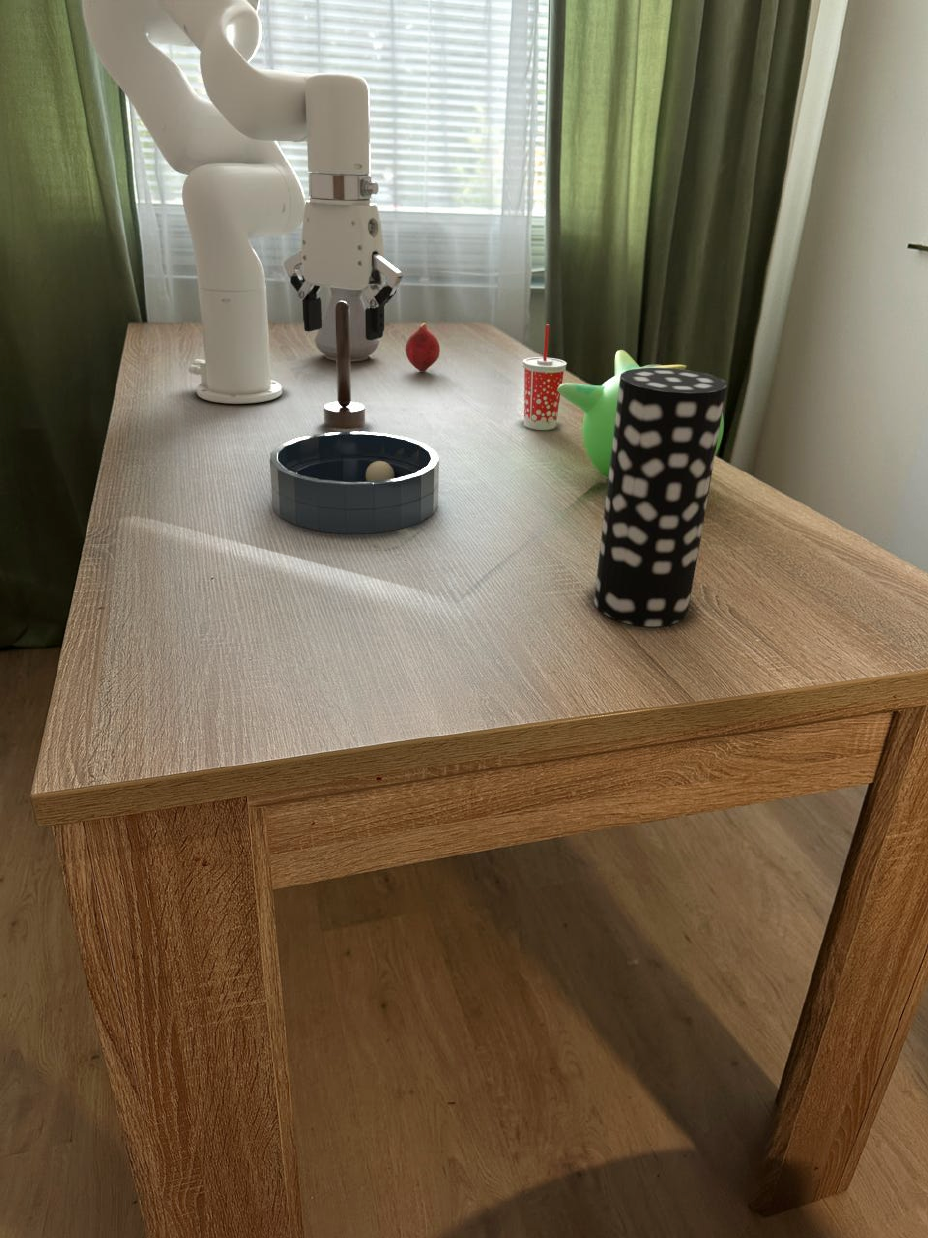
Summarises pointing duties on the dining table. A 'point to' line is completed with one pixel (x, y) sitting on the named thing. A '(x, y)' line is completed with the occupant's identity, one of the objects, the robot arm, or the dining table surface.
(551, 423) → the beverage cup
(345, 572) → the dining table surface
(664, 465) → the white-spotted black cylinder
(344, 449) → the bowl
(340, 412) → the brown rod with base
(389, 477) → the cream ball
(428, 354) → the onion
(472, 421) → the dining table surface
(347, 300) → the coffee pot
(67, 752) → the dining table surface
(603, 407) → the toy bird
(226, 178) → the robot arm
